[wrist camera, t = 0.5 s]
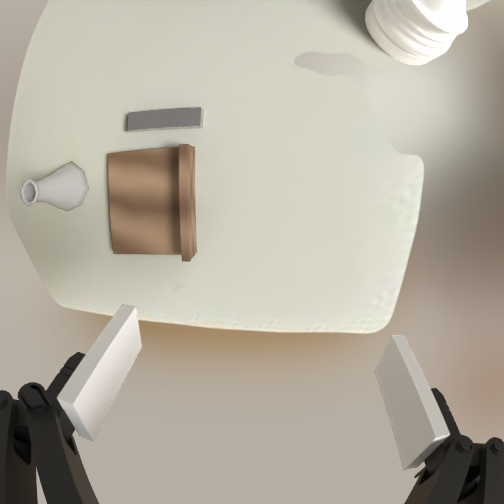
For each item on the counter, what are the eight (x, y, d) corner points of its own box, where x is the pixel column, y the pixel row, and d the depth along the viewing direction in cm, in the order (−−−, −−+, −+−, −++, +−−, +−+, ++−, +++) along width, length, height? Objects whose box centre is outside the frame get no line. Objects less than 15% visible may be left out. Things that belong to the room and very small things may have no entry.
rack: (113, 154, 36) (97, 152, 32) (194, 147, 36) (187, 144, 32) (117, 251, 40) (103, 259, 35) (196, 251, 40) (189, 261, 35)
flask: (74, 153, 36) (32, 151, 26) (96, 189, 38) (56, 196, 28) (46, 183, 37) (5, 189, 27) (67, 219, 39) (27, 232, 29)
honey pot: (394, 73, 33) (466, 30, 15) (348, 6, 30) (391, -61, 13) (447, 57, 31) (517, 25, 14) (406, -4, 28) (457, -54, 11)
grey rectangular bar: (134, 115, 35) (128, 112, 33) (203, 110, 35) (201, 107, 33) (133, 132, 36) (127, 130, 34) (202, 128, 36) (200, 126, 34)
